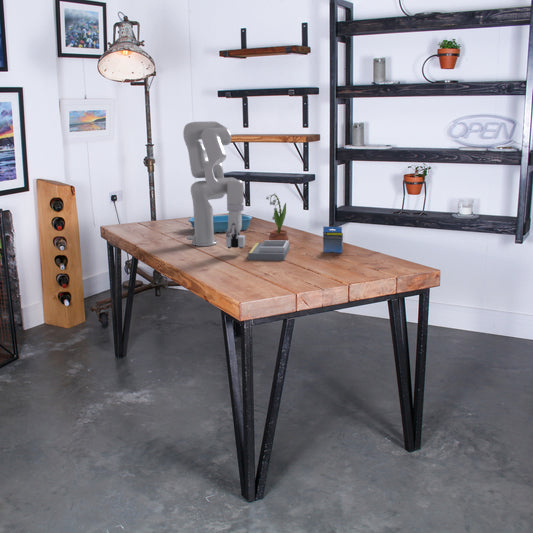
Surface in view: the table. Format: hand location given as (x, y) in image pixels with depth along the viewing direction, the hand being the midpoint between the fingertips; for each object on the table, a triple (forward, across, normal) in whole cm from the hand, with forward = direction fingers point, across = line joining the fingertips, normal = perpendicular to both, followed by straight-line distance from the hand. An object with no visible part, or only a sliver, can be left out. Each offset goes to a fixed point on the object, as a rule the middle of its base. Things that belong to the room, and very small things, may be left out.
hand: (235, 245), depth 297 cm
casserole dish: (+7, -63, -20) cm, 67 cm away
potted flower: (+5, -29, +16) cm, 34 cm away
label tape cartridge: (+4, -8, +45) cm, 46 cm away
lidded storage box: (+1, 0, 0) cm, 1 cm away
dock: (+4, -1, +16) cm, 16 cm away
